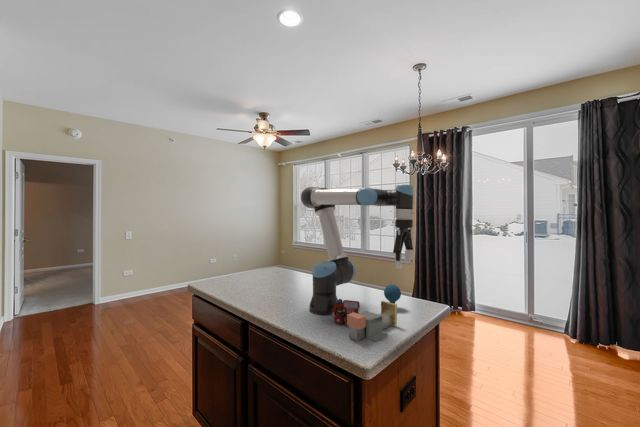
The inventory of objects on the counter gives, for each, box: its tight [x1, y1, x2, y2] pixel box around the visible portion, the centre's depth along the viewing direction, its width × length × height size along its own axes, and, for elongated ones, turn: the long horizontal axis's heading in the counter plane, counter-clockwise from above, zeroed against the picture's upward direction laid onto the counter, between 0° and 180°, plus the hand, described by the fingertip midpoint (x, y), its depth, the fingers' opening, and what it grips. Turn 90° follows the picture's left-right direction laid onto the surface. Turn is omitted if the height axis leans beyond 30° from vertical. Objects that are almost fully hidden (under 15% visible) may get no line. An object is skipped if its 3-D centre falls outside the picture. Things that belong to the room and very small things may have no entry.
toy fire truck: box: [331, 298, 360, 327], centre depth 125 cm, size 7×12×10 cm, turn 66°
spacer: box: [346, 312, 366, 330], centre depth 109 cm, size 4×6×4 cm, turn 41°
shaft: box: [348, 300, 398, 342], centre depth 116 cm, size 24×7×9 cm, turn 131°
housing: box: [359, 310, 388, 342], centre depth 114 cm, size 8×13×7 cm, turn 41°
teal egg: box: [383, 284, 402, 304], centre depth 144 cm, size 8×8×12 cm
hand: (403, 265), depth 128 cm, fingers open, 13 cm apart
